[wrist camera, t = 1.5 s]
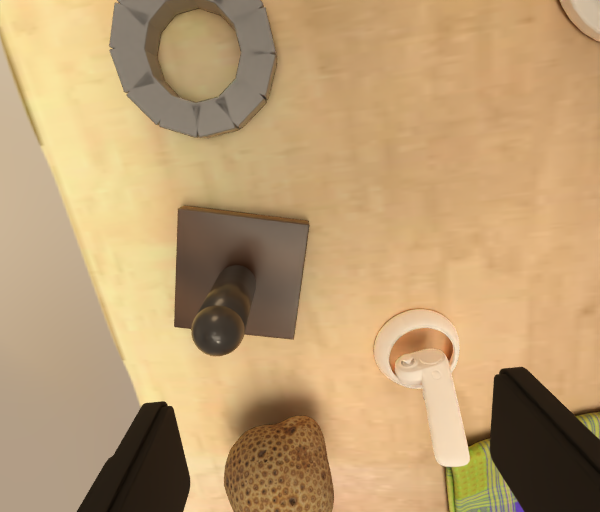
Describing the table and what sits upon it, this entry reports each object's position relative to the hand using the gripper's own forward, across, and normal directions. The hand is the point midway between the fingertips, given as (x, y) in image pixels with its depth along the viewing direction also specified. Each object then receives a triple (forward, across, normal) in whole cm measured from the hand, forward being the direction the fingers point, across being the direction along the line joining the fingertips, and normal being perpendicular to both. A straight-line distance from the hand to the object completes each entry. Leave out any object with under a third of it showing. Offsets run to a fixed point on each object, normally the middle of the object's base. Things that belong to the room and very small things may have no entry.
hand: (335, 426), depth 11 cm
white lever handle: (+21, -9, +11) cm, 25 cm away
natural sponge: (+20, +4, +18) cm, 28 cm away
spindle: (+20, +6, +2) cm, 21 cm away
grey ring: (+20, +6, -14) cm, 26 cm away
